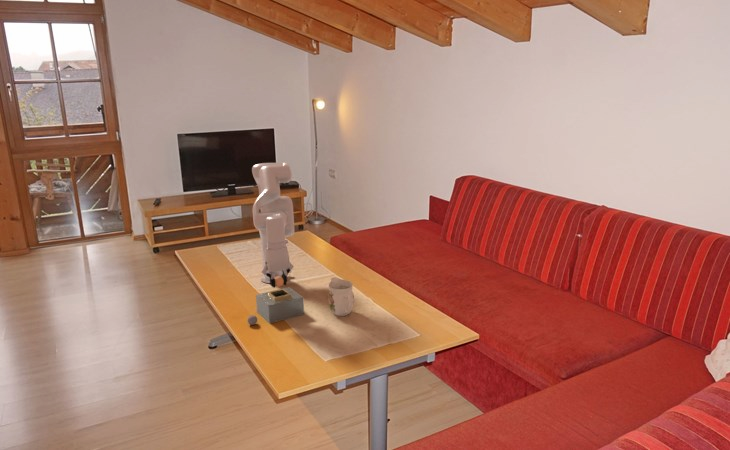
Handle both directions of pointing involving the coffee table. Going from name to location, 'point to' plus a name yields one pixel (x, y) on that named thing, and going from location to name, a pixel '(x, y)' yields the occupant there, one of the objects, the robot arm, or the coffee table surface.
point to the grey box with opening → (279, 304)
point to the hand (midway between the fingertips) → (278, 285)
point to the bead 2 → (279, 281)
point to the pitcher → (340, 296)
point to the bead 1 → (252, 320)
